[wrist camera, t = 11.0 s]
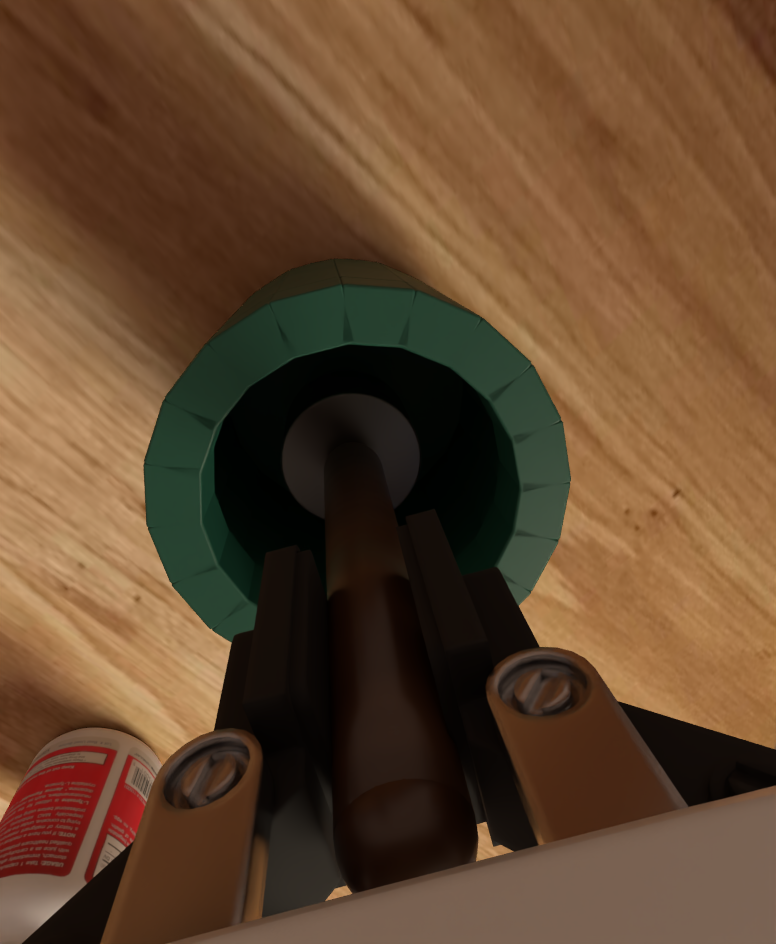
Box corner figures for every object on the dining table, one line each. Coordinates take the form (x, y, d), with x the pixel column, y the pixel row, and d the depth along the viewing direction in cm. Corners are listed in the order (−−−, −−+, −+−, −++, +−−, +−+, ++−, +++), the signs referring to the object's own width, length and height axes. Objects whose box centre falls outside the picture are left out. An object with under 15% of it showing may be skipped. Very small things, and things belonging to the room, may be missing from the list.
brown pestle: (392, 355, 21) (585, 698, 6) (419, 470, 22) (628, 976, 7) (269, 387, 21) (147, 811, 6) (304, 500, 22) (279, 1070, 7)
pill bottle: (9, 789, 31) (-142, 1067, 21) (72, 701, 30) (-59, 952, 20) (128, 838, 33) (42, 1116, 23) (192, 756, 32) (131, 1014, 21)
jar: (445, 228, 24) (536, 233, 14) (493, 477, 28) (592, 624, 18) (177, 297, 24) (72, 351, 14) (260, 537, 28) (225, 719, 18)
